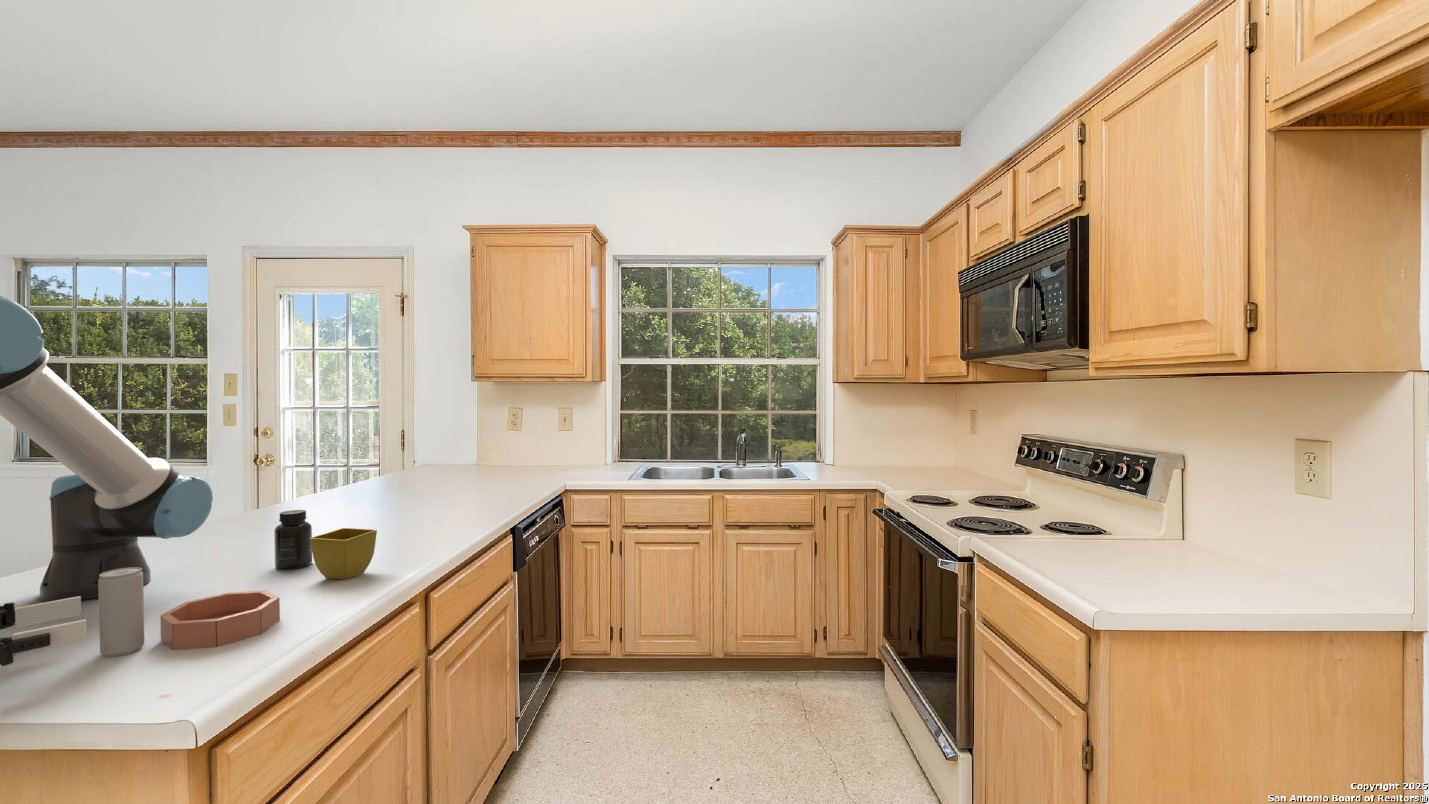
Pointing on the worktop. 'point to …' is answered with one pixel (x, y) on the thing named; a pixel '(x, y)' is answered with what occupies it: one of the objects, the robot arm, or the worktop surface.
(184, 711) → the worktop surface
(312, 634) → the worktop surface
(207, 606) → the terracotta bowl
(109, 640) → the beverage can
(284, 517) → the supplement bottle
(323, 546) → the flower pot
